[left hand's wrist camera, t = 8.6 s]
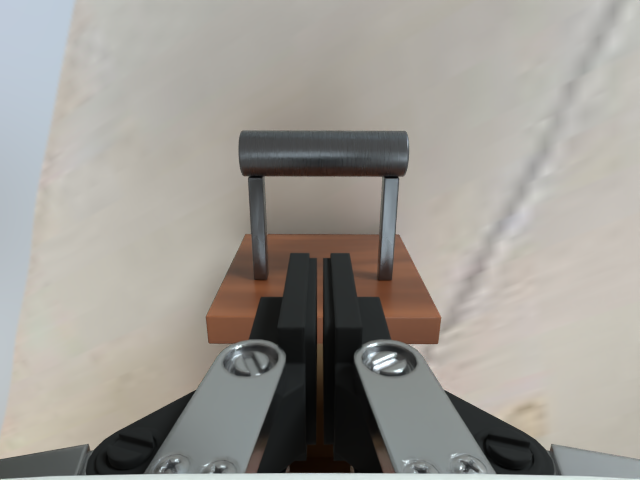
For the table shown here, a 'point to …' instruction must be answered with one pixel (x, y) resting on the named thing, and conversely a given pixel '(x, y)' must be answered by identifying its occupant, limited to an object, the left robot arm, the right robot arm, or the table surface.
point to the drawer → (324, 249)
